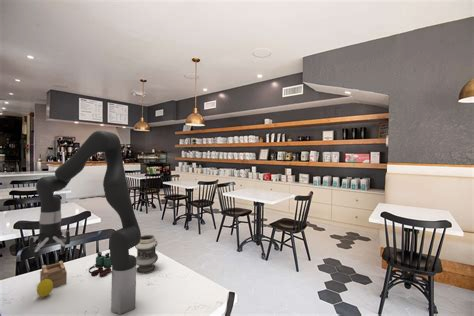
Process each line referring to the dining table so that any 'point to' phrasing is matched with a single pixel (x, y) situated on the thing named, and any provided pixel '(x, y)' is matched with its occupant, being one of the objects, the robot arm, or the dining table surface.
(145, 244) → the apothecary jar
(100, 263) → the binoculars
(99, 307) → the dining table surface
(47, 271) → the wooden crate
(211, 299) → the dining table surface
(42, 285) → the lemon
